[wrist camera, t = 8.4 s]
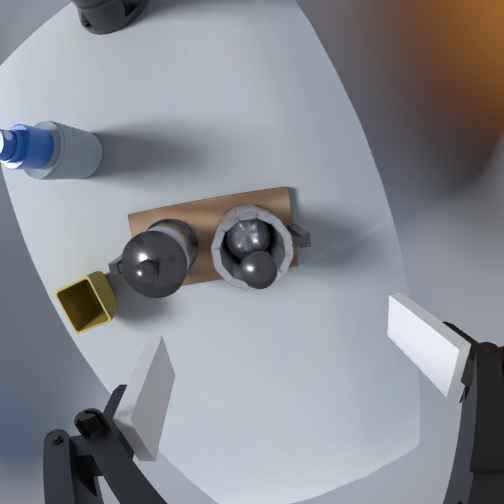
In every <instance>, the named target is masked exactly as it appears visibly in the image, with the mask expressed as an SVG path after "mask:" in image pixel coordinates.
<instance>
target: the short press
mask: <svg viewBox="0 0 504 504" xmlns="http://www.w3.org/2000/svg"><path fill="white" fill-rule="evenodd" d="M197 254H198V242H197V238H196V236H195V234H194V232H193V231H192V229H191V228H190V227H189V226H188V225H186V224H185V223H183V222H182V221H179V220H176V219H163V220H160V221H157V222H155V223H154V224H152V225H151V226H150V227H149V228H148V229H147V230H146V231H145V232H142V233H139V234H138V235H136V236H134V237H133V238H132V239H131V240H130V241H129V242H128V243H127V245H126V246H125V248H124V251H123V254H122V255H121V256H119V257H118V258H116V259H115V260H114V261H112V262H111V263H109V264H108V265H109V269H110V273H111V276H113V275H119V274H121V273H122V272H123V273H124V276H125V278H126V280H127V282H128V283H129V284H130V286H131V287H132V288H133V289H134V290H136V291H137V292H138V293H140V294H142V295H144V296H147V297H151V298H162V297H166V296H169V295H171V294H173V293H174V292H176V291H177V290H178V289H179V288H180V286H181V285H182V284H183V282H184V280H185V277H186V274H187V271H188V270H189V269H190V268H191V267H192V266H193V264H194V262H195V260H196V258H197Z"/></svg>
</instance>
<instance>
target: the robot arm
mask: <svg viewBox="0 0 504 504" xmlns="http://www.w3.org/2000/svg"><path fill="white" fill-rule="evenodd" d="M71 1H72V2H73V3H74V4H75V5H76V6H77V10H78V14H79V19H80V22H81V24H82V26H83V27H84V28H85V29H86V30H87V31H89V32H90V33H93V34H107V33H111V32H114V31H117V30H119V29H121V28H123V27H125V26H126V25H128V24H129V23H131V22H132V21H133V20H135V19H136V18H137V17H138V16H139V15H140V14H141V13H142V11H143V10H144V8H145V7H146V5H147V2H148V0H71ZM387 335H388V336H389V337H390V338H391V339H392V340H393V341H394V342H395V343H396V344H397V345H398V346H399V348H400V349H401V350H402V351H403V352H404V353H405V354H406V355H407V356H408V357H409V358H410V359H411V360H412V361H413V362H414V363H415V364H416V365H417V366H418V367H419V369H420V370H421V371H422V372H423V373H424V374H425V375H426V376H427V377H428V378H429V379H430V380H431V381H432V382H433V383H434V385H435V386H436V387H437V388H438V389H439V390H440V391H441V392H442V393H443V394H444V395H445V397H448V396H450V395H452V394H454V393H456V392H457V391H458V389H459V386H460V383H461V382H462V383H463V384H464V385H465V388H464V391H463V394H462V396H461V399H460V403H461V402H462V400H463V402H462V412H461V421H460V429H459V436H458V442H457V448H456V453H455V458H454V463H453V468H452V472H451V476H450V480H449V485H448V488H447V492H446V496H445V499H444V502H443V504H504V346H503V347H498V346H496V345H495V344H493V343H490V342H483V343H480V344H479V343H478V342H476V341H475V340H474V339H472V338H471V337H470V336H468V335H467V334H466V333H464V332H463V331H461V330H459V328H457V327H456V326H454V325H453V324H451V323H448V322H441V321H439V320H438V319H437V318H435V317H434V316H432V315H431V314H430V313H428V312H427V311H425V310H424V309H423V308H421V307H420V306H418V305H417V304H416V303H414V302H413V301H412V300H410V299H409V298H407V297H406V296H404V295H403V294H402V293H400V292H399V293H396V294H392V295H389V318H388V334H387ZM174 378H175V373H174V370H173V368H172V365H171V362H170V359H169V356H168V353H167V350H166V347H165V344H164V341H163V337H162V336H160V337H150V338H149V340H148V342H147V344H146V346H145V348H144V350H143V352H142V354H141V357H140V359H139V361H138V363H137V365H136V367H135V370H134V372H133V374H132V376H131V378H130V381H129V383H128V385H119V386H118V387H117V388H116V389H115V390H114V391H113V393H112V395H111V397H110V400H109V401H108V405H106V408H105V410H104V412H103V414H102V412H100V411H99V410H98V409H94V408H92V409H86V410H84V411H82V412H80V413H79V414H78V415H77V416H76V418H75V420H74V424H75V426H76V427H77V429H78V430H79V432H80V433H81V435H79V436H73V437H70V436H69V435H68V433H67V432H66V431H64V430H61V429H56V430H53V431H51V432H50V433H49V434H47V435H46V437H45V440H44V455H43V469H44V470H43V471H44V497H45V504H104V503H103V499H102V495H101V491H100V486H99V482H98V477H97V476H104V478H105V480H106V481H107V483H108V485H109V487H110V488H111V490H112V491H113V493H114V495H115V496H116V498H117V499H118V501H119V502H120V504H167V503H166V502H165V500H164V499H163V498H162V497H161V496H160V495H159V494H158V492H157V491H156V490H155V489H154V487H153V486H152V485H151V484H150V483H149V481H148V480H147V479H146V478H145V476H144V475H143V474H142V472H141V471H140V470H139V468H138V467H137V466H136V464H135V463H134V462H133V460H132V459H133V456H134V454H135V455H136V456H137V458H138V459H139V460H140V461H155V460H156V456H157V451H158V447H159V442H160V438H161V433H162V429H163V424H164V420H165V416H166V411H167V407H168V403H169V399H170V395H171V390H172V386H173V382H174Z"/></svg>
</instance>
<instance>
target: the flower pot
mask: <svg viewBox="0 0 504 504" xmlns="http://www.w3.org/2000/svg"><path fill="white" fill-rule="evenodd" d="M93 292H95V294H93ZM55 295H56V297H57V300H58V301H59V303H60V305H61V307H62V309H63V311H64V312H65V314H66V316H67V318H68V320H69V322H70V323H71V325H72V327H73V329H74V330H75V332H76V333H77V334H80V333H83V332H85V331H87V330H90V329H92V328H95V327H98V326H100V325H103V324H106V323H109V322H111V321H112V319H113V316H114V314H115V312H116V310H117V300H116V297H115V295H114V293H113V291H112V289H111V287H110V285H109V283H108V281H107V279H106V277H105V275H104V274H103V273H102V272H100V271H97V272H94V273H91V274H89V275H87V276H85V277H83V278H81V279H79V280H77V281H75V282H73V283H71V284H69V285H67V286H65V287H63V288H61V289H59V290H57V291H56V292H55Z"/></svg>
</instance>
